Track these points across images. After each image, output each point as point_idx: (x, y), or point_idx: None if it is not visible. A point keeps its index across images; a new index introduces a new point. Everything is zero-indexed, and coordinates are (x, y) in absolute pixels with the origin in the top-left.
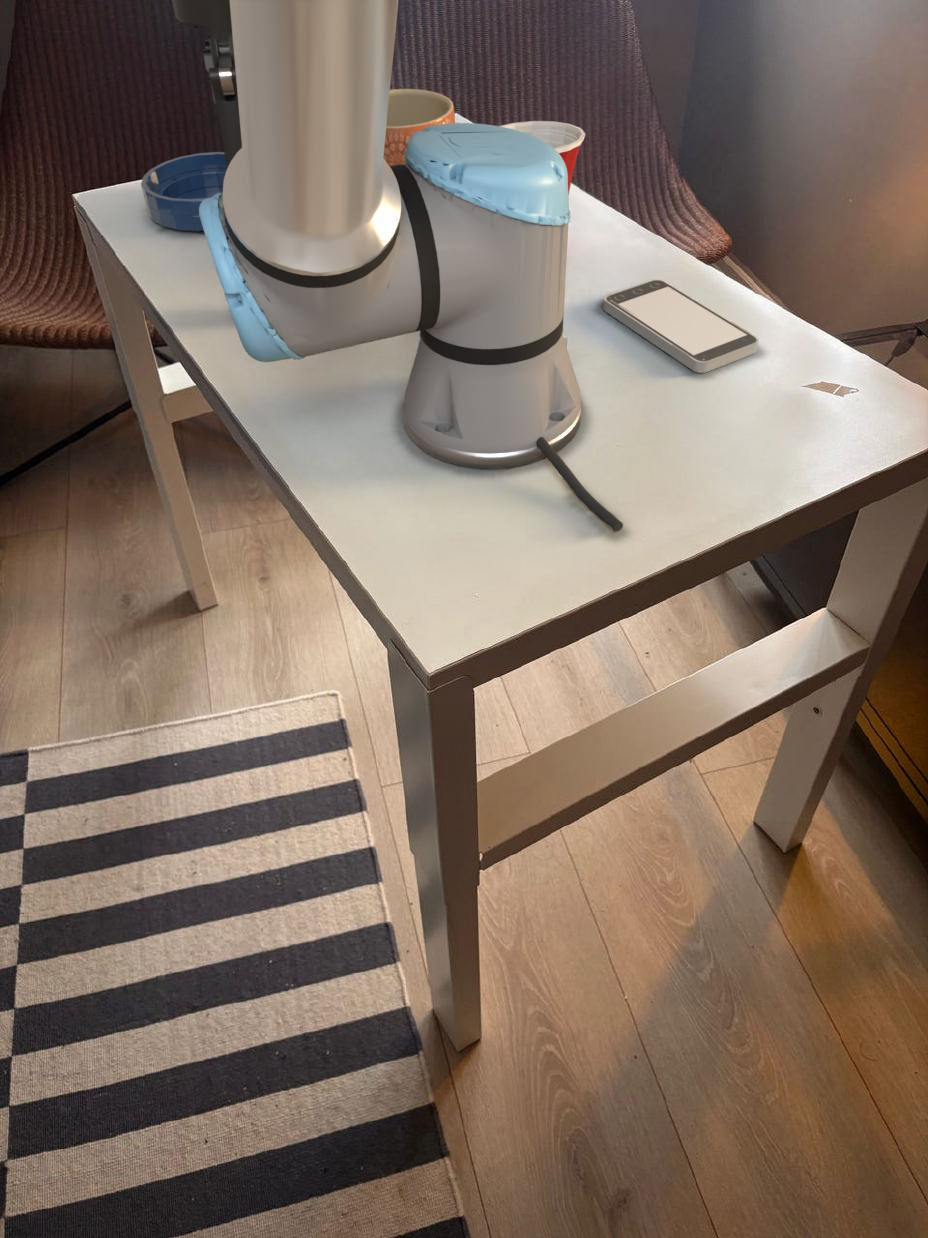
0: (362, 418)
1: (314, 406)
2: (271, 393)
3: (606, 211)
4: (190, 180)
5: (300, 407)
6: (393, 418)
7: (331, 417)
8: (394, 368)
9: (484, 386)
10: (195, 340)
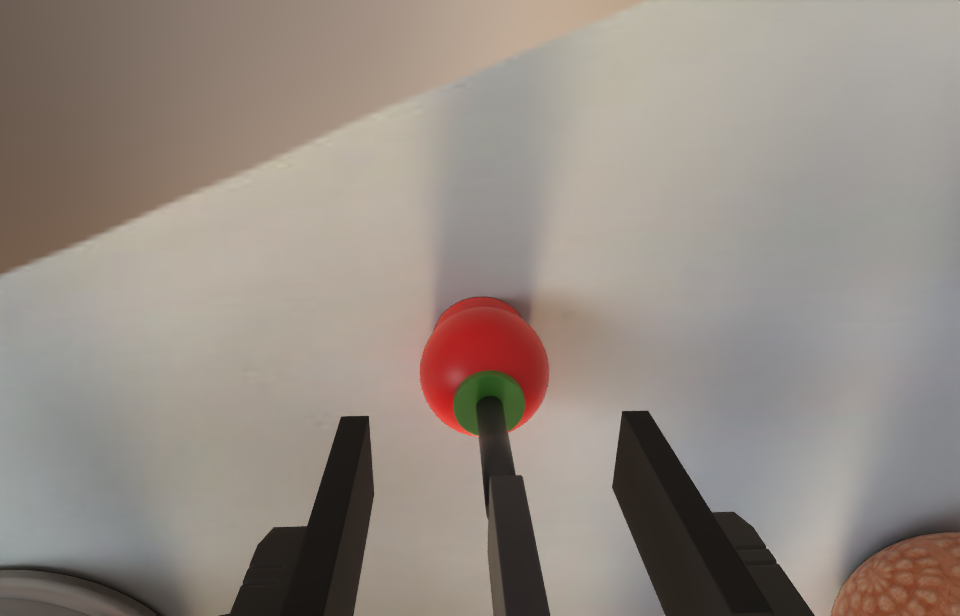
0: (29, 502)
1: (65, 422)
2: (113, 339)
3: None
4: None
5: (59, 396)
6: (35, 548)
7: (26, 452)
8: (218, 553)
9: None
10: (377, 146)
